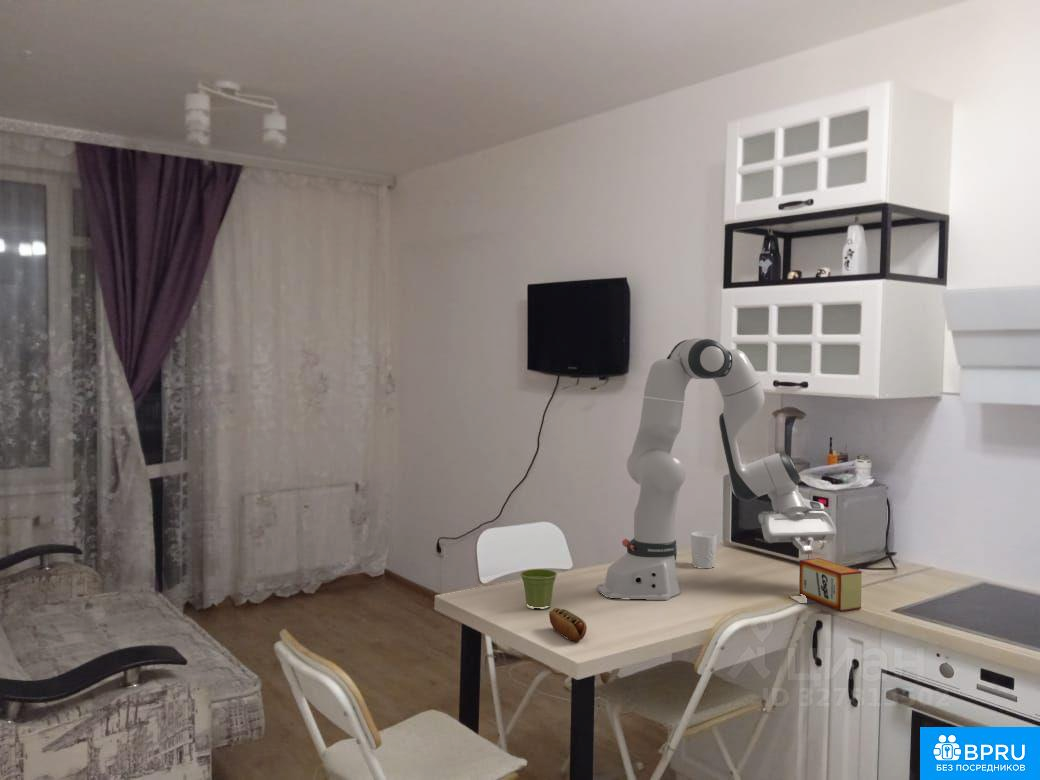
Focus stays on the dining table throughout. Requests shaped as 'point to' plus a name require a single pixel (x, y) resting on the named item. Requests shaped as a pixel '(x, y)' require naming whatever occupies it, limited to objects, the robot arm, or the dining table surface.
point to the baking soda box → (830, 584)
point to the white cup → (703, 549)
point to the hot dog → (568, 624)
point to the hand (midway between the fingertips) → (807, 553)
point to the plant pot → (538, 586)
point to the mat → (811, 601)
